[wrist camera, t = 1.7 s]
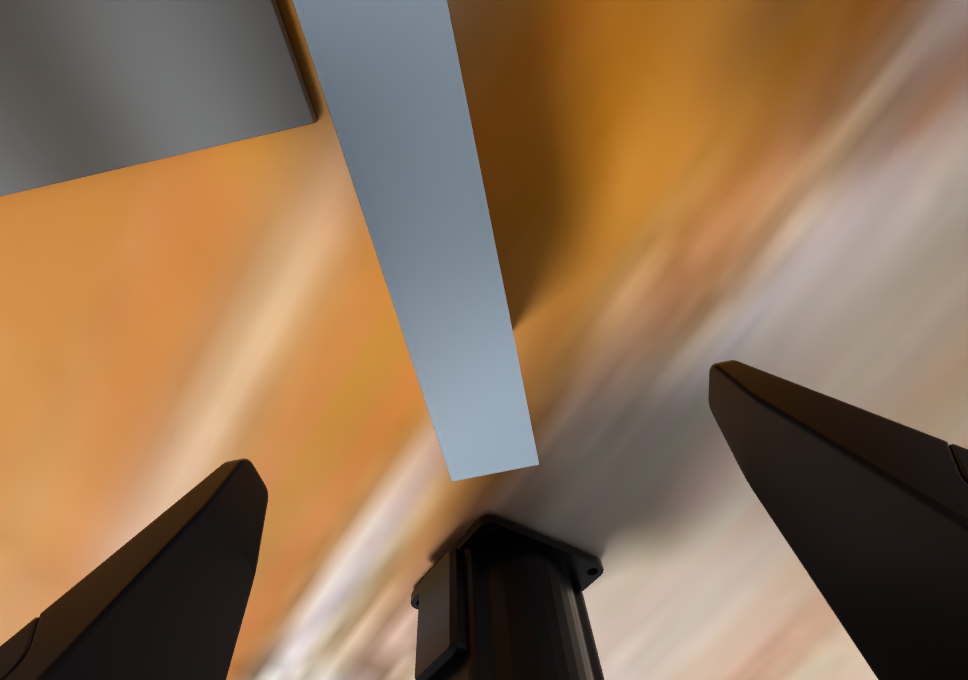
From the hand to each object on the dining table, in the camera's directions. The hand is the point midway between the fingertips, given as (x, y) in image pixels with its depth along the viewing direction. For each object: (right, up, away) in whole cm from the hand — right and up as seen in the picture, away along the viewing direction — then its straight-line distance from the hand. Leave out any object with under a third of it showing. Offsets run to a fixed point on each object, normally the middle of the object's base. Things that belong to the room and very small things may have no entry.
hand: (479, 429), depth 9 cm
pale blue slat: (-1, +7, +4) cm, 8 cm away
